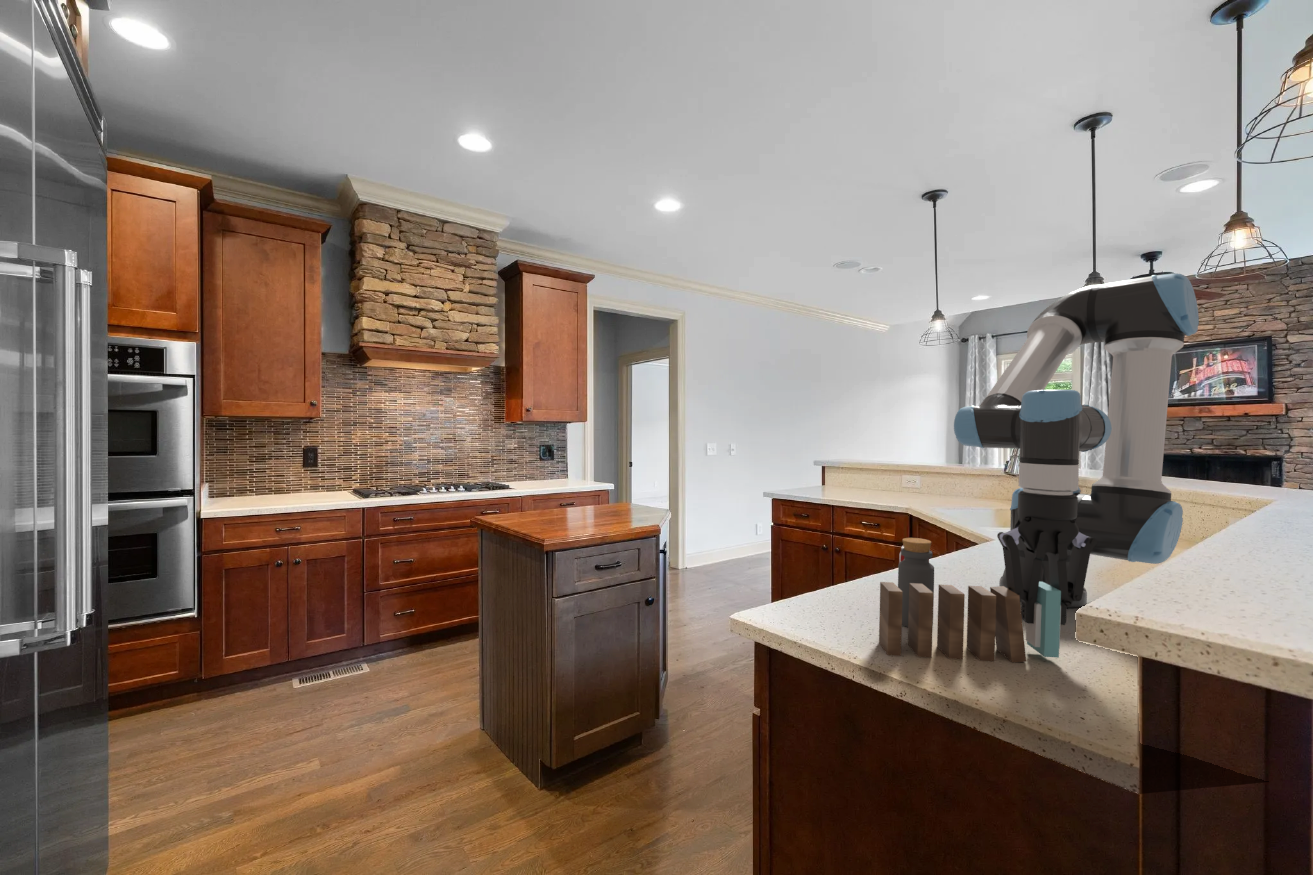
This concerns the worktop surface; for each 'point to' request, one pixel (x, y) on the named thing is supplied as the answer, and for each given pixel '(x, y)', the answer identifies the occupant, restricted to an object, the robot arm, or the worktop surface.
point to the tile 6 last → (890, 618)
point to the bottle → (914, 570)
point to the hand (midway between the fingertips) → (1042, 644)
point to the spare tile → (1049, 620)
